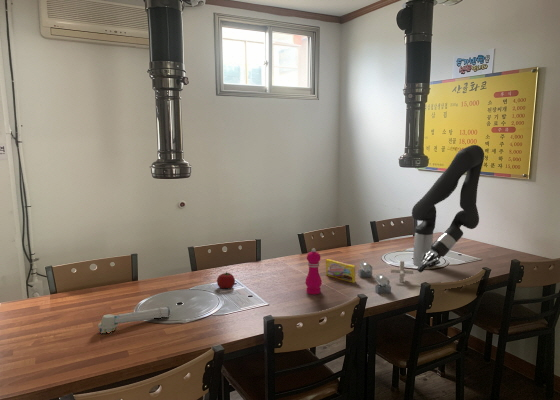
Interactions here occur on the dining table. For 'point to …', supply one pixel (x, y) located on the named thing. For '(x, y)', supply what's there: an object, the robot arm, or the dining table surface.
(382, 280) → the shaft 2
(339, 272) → the candy box
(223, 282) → the tomato
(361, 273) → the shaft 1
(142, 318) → the toothbrush head
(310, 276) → the pepper mill
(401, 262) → the pipe connector
